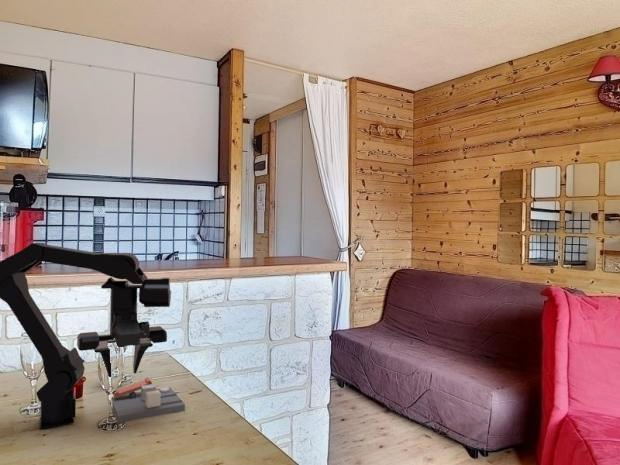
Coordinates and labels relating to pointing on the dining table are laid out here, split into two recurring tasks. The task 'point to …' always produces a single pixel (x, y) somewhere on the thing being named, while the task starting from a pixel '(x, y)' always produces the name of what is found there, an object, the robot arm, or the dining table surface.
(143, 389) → the middle slider
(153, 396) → the front slider
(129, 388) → the rocker
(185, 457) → the dining table surface
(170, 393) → the panel
